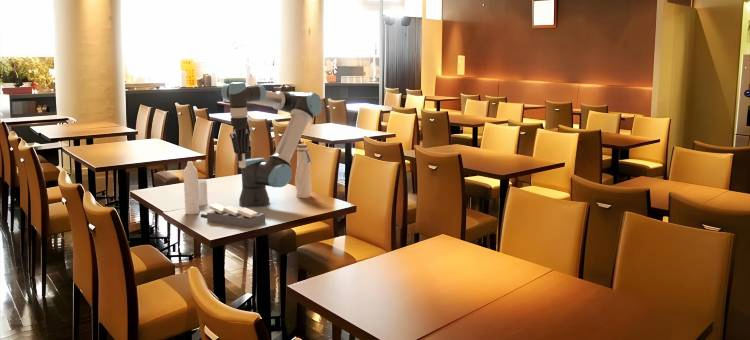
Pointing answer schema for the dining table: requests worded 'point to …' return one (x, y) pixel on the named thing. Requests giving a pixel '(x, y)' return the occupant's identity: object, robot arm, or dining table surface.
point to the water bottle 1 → (191, 188)
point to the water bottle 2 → (303, 172)
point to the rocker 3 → (247, 212)
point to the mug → (202, 192)
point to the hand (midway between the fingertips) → (242, 167)
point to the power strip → (235, 219)
